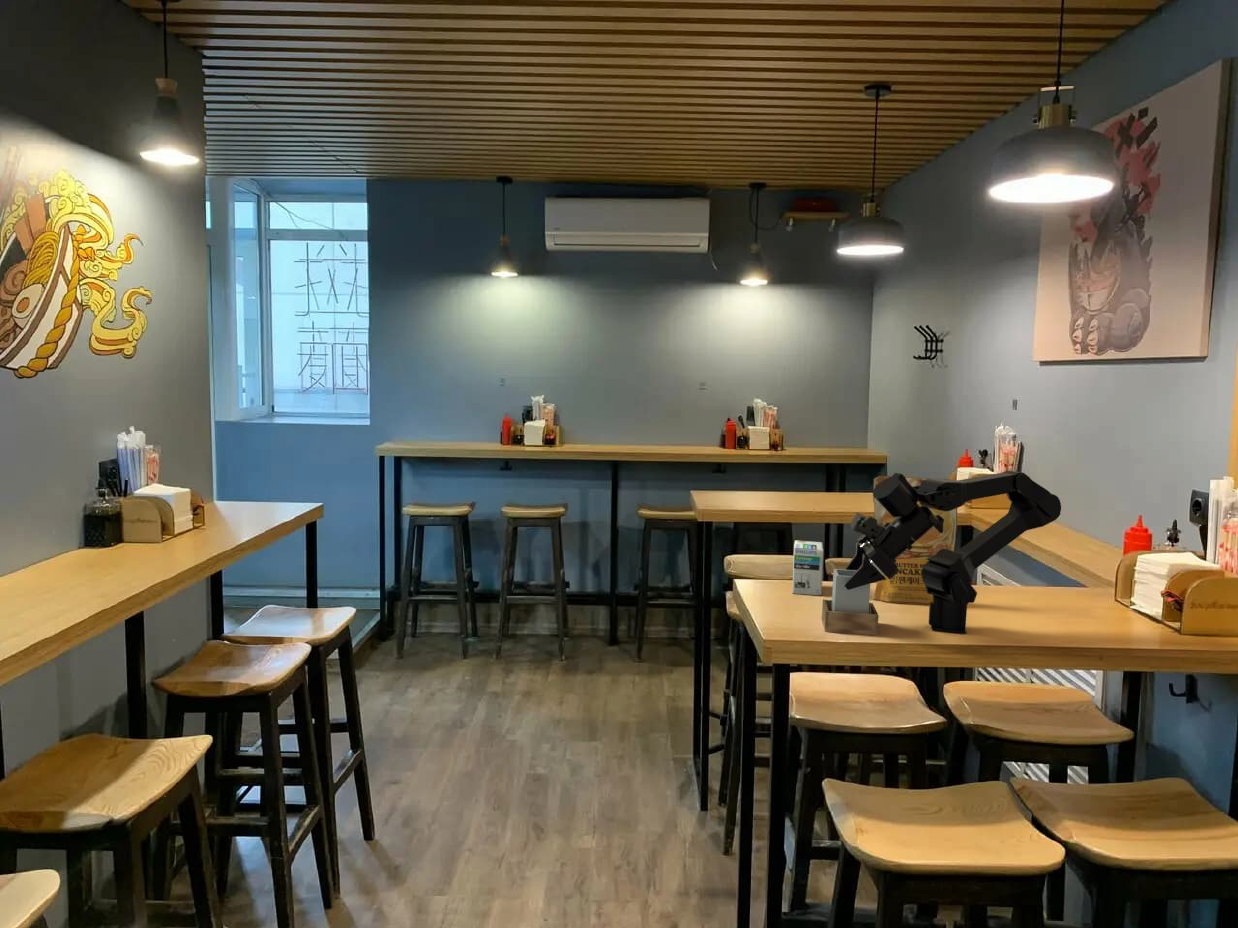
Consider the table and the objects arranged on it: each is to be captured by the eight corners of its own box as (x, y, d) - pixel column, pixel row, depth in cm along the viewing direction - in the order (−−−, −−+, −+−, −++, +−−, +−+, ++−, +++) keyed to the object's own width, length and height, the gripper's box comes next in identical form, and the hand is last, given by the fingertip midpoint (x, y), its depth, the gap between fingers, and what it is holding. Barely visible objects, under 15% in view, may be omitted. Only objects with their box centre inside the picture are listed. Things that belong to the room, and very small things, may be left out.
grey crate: (863, 619, 181) (866, 571, 180) (867, 628, 175) (870, 577, 174) (831, 617, 182) (833, 568, 181) (833, 625, 176) (836, 575, 175)
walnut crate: (871, 621, 183) (872, 602, 182) (877, 635, 173) (878, 615, 172) (821, 618, 184) (822, 599, 184) (824, 631, 174) (825, 611, 174)
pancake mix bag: (863, 594, 206) (870, 473, 203) (949, 599, 204) (957, 477, 201) (868, 602, 199) (876, 477, 197) (957, 607, 197) (966, 480, 195)
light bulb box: (821, 596, 203) (824, 549, 202) (791, 594, 205) (793, 547, 204) (820, 586, 214) (823, 541, 213) (792, 583, 215) (794, 539, 214)
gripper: (871, 494, 185) (813, 544, 187) (882, 506, 166) (819, 561, 169) (908, 534, 184) (850, 583, 187) (924, 551, 166) (859, 605, 168)
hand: (844, 582), depth 178 cm, fingers open, 9 cm apart
